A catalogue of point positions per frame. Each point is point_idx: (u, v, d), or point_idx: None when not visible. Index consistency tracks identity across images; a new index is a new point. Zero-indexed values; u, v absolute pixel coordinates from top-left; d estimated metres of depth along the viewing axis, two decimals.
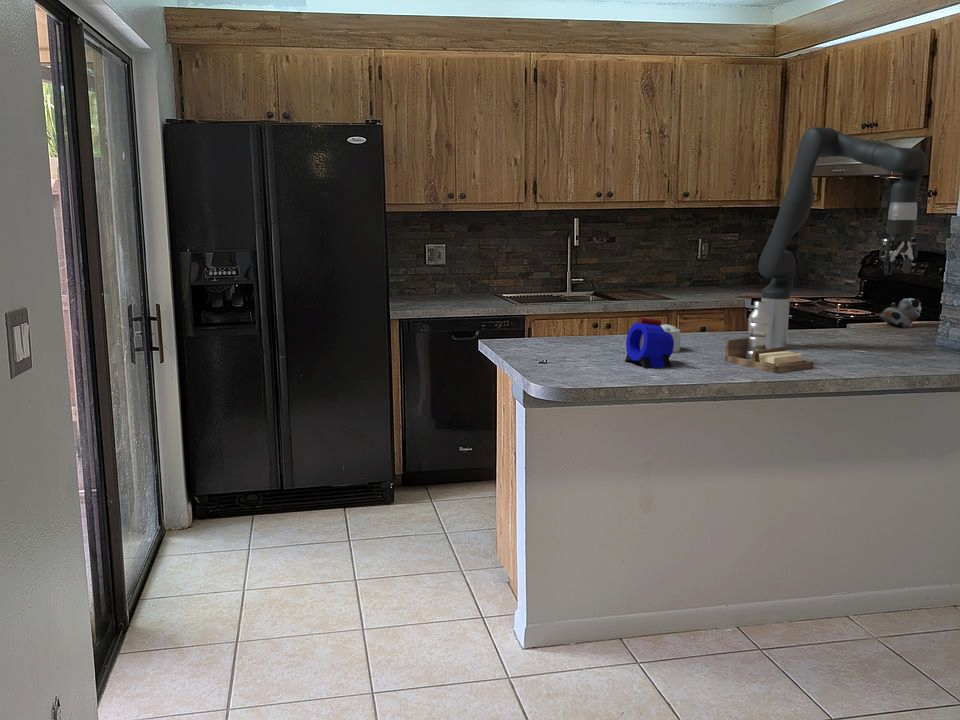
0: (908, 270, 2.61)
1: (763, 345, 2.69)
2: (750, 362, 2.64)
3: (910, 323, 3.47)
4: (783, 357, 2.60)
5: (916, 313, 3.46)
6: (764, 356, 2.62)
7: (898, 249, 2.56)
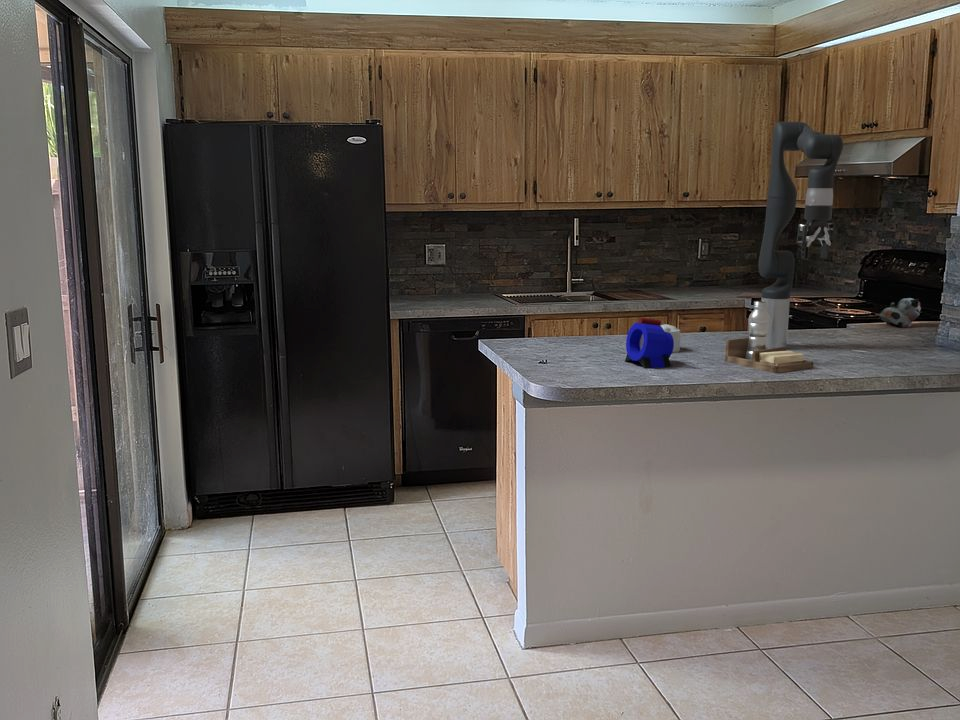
0: (825, 255, 2.65)
1: (763, 345, 2.69)
2: (750, 362, 2.64)
3: (909, 323, 3.47)
4: (783, 357, 2.60)
5: (915, 313, 3.46)
6: (764, 355, 2.63)
7: (815, 234, 2.59)
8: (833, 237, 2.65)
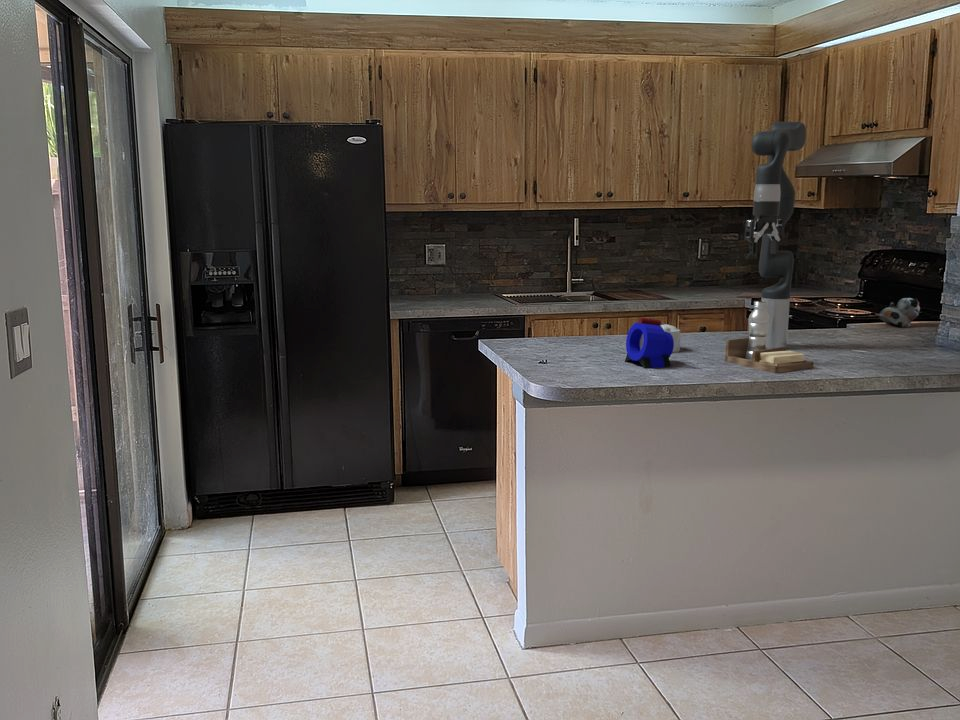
0: (775, 251, 2.67)
1: (763, 345, 2.69)
2: (750, 362, 2.64)
3: (909, 323, 3.48)
4: (783, 357, 2.60)
5: (915, 313, 3.46)
6: (764, 355, 2.63)
7: (762, 230, 2.62)
8: (782, 233, 2.67)
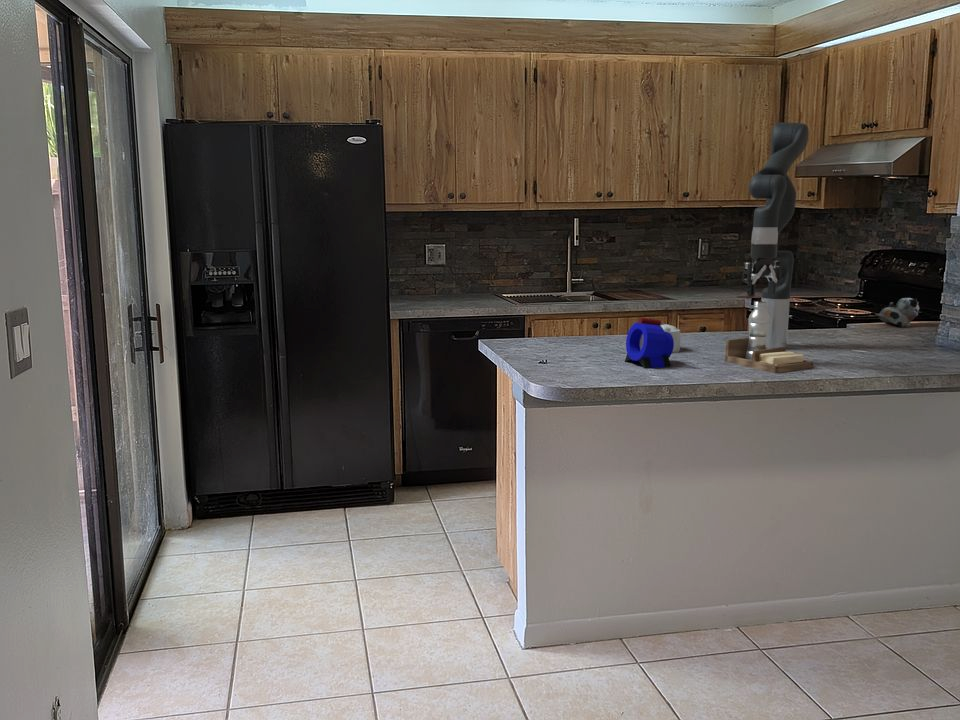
0: (772, 292, 2.70)
1: (763, 345, 2.69)
2: (750, 362, 2.64)
3: (908, 323, 3.48)
4: (783, 358, 2.60)
5: (914, 313, 3.47)
6: (764, 356, 2.63)
7: (760, 272, 2.65)
8: (780, 274, 2.70)
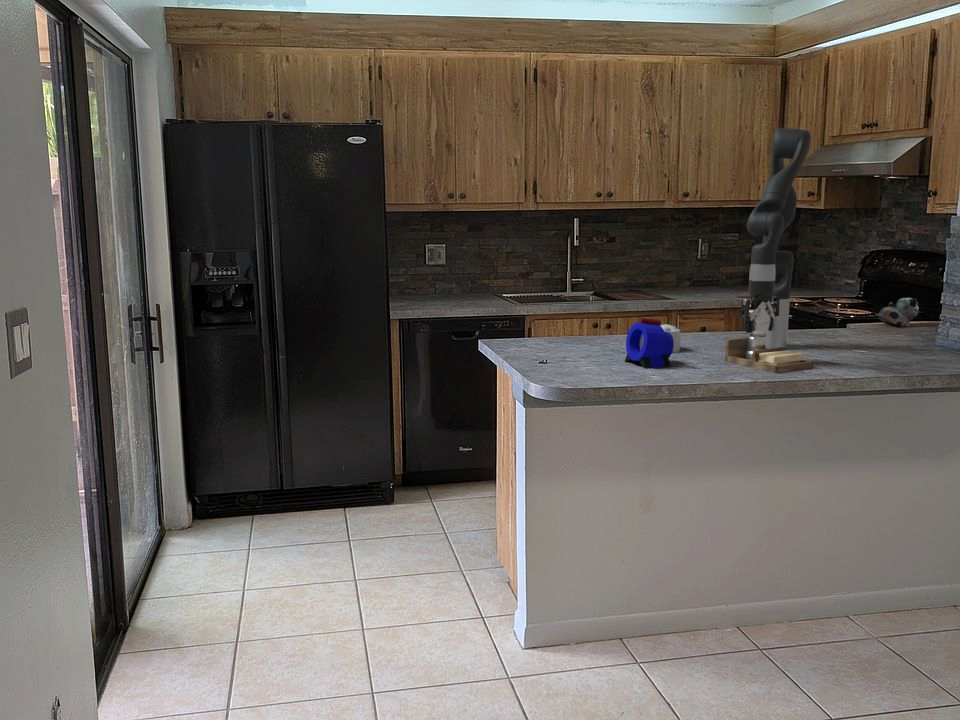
0: (770, 328, 2.72)
1: (763, 345, 2.69)
2: (750, 362, 2.64)
3: (908, 322, 3.49)
4: (783, 356, 2.61)
5: (914, 312, 3.47)
6: (764, 355, 2.63)
7: (758, 309, 2.67)
8: (777, 310, 2.72)
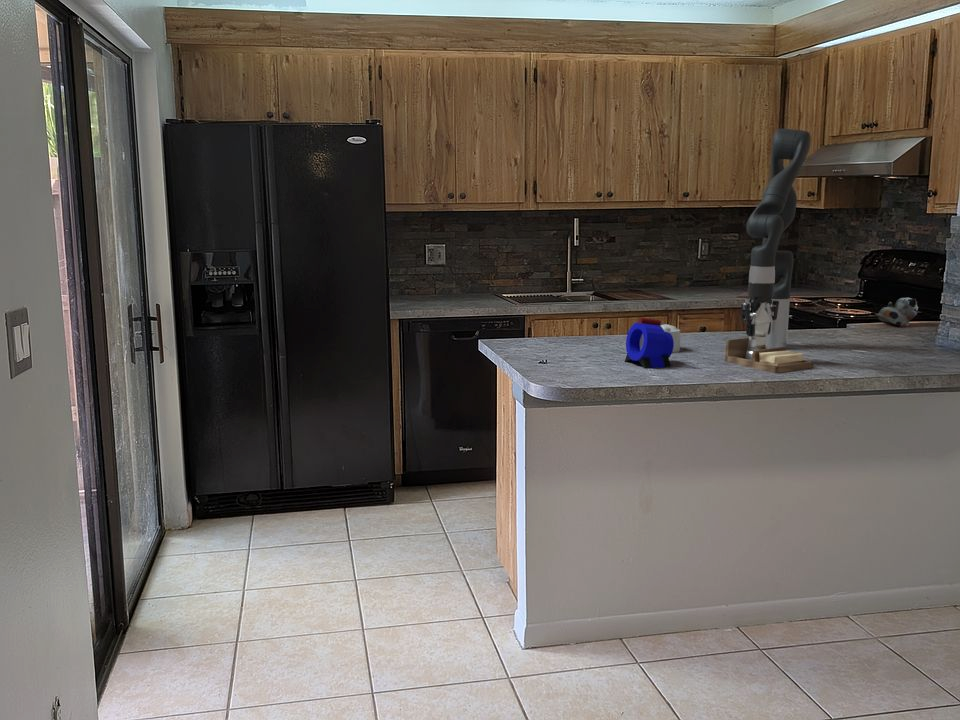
0: None
1: (763, 345, 2.69)
2: (750, 362, 2.64)
3: (907, 322, 3.49)
4: (783, 356, 2.60)
5: (913, 312, 3.48)
6: (764, 355, 2.63)
7: (758, 311, 2.67)
8: (775, 314, 2.72)
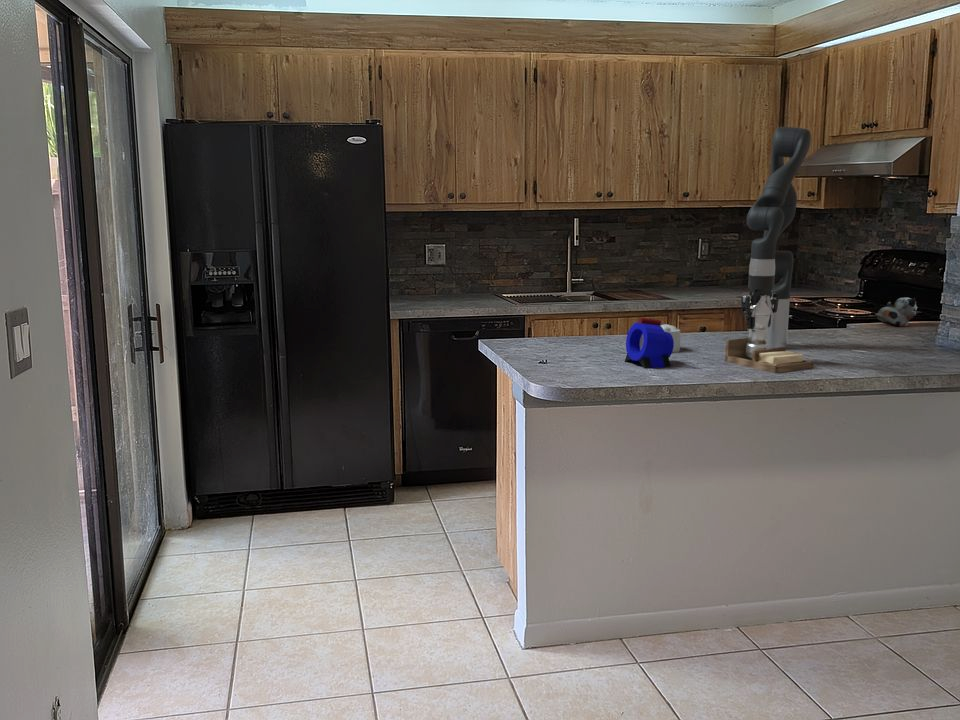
0: (768, 324, 2.71)
1: (763, 338, 2.69)
2: (750, 362, 2.64)
3: (906, 322, 3.49)
4: (783, 357, 2.60)
5: (912, 312, 3.48)
6: (764, 355, 2.63)
7: (758, 304, 2.67)
8: (775, 307, 2.71)
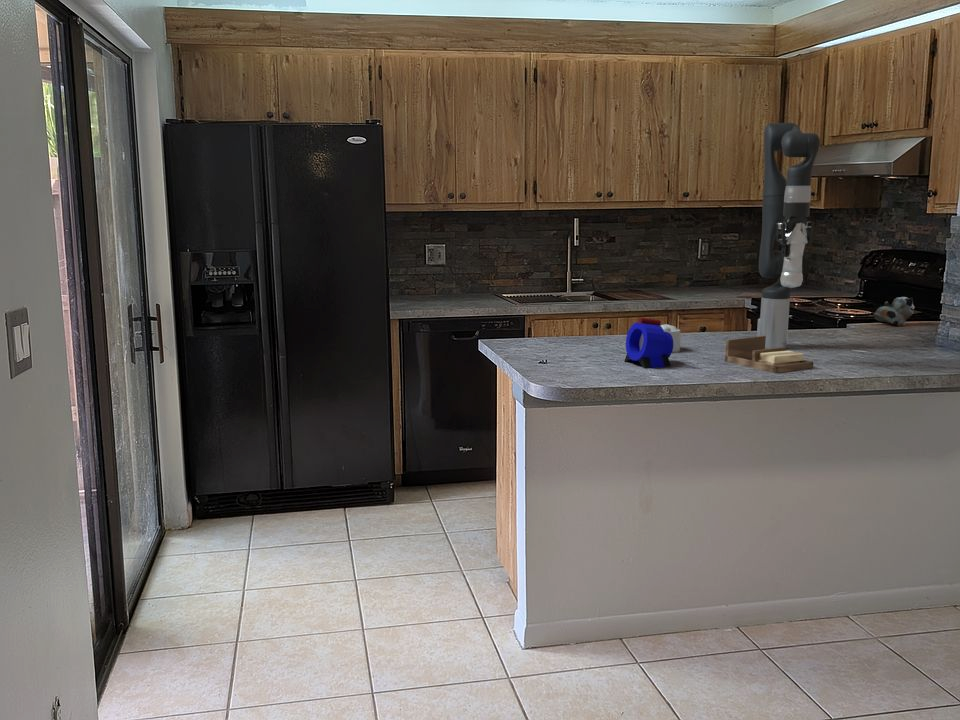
0: None
1: (798, 266, 2.69)
2: (750, 362, 2.64)
3: (904, 321, 3.51)
4: (784, 356, 2.61)
5: (910, 311, 3.50)
6: (765, 355, 2.63)
7: (793, 231, 2.66)
8: (810, 235, 2.71)
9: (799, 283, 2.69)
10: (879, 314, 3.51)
